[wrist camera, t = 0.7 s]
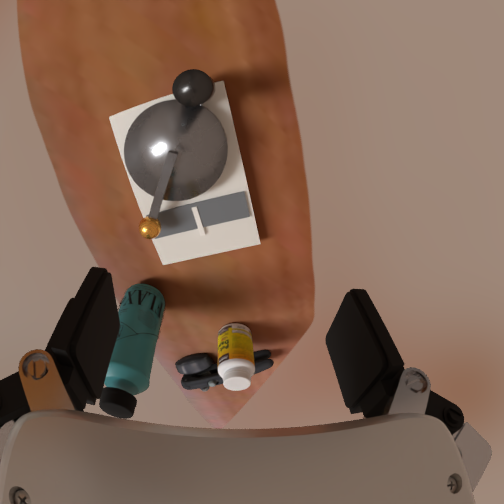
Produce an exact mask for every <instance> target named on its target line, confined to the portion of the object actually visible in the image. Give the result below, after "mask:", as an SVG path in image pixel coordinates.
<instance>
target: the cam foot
mask: <svg viewBox="0 0 504 504" xmlns="http://www.w3.org/2000/svg"><path fill="white" fill-rule="evenodd" d="M172 90H173V95H174V97H175V99H173V100H167V101H162V102H159V103H156V104H154V105H152V106H150V107H149V108H147V109H145V110H144V111H143V112H142V113H141V114H140V115H139V116H138V117H137V118H136V119H135V120H134V122H133V123H132V124H131V126H130V128H129V130H128V133H127V135H126V139H125V143H124V158H125V164H126V167H127V170H128V172H129V174H130V176H131V177H132V179H133V180H134V182H135V183H136V184H137V185H138V186H139V187H140V188H141V189H142V190H144V191H145V192H146V193H148V194H150V195H151V196H153V197H154V198H153V202H152V205H151V209H150V213H149V216H147V217H145V218H143V219H142V220H141V222H140V224H139V232H140V234H141V235H142V236H143V237H144V238H146V239H153V238H156V237H157V236H158V235H159V234H160V231H161V223H160V221H159V220H158V219H157V218H158V215H159V211H160V208H161V205H162V201H163V200H167V201H184V200H188V199H192V198H195V197H197V196H199V195H201V194H203V193H204V192H206V191H207V190H208V189H210V188H211V187H212V186H213V185H214V184H215V183H216V181H217V180H218V179H219V177H220V176H221V174H222V172H223V170H224V167H225V164H226V160H227V153H228V143H227V137H226V133H225V130H224V127H223V125H222V124H221V122H220V120H219V119H218V118H217V116H216V115H215V114H214V113H213V112H212V111H211V110H209V109H208V108H207V107H205V106H203V104H204V103H205V102H207V101H208V100H210V99H211V98H212V96H213V95H214V93H215V83H214V81H213V79H212V78H211V77H209V76H208V75H207V74H206V73H204V72H202V71H200V70H195V69H192V70H187V71H184V72H182V73H181V74H180V75H178V77H177V78H176V79H175V81H174V83H173V89H172Z"/></svg>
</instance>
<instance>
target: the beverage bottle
mask: <svg viewBox="0 0 504 504" xmlns="http://www.w3.org/2000/svg"><path fill="white" fill-rule="evenodd" d="M124 294H125V296H124V298H122V299H123V300H121V301H122V303H120V304H121V306H120V305H119V306H120V309H119V311H118V315H119V320H120V329H119V333H118V336H117V339H116V343H115V346H114V349H113V353H112V356H111V360H110V363H109V367H108V371H107V374H106V378H105V382H104V384H105V385H106V386H107V387H105V388H103V390H102V394H101V397H100V403H99V405H100V408H101V409H102V410H103V411H104V412H106V413H107V414H109V415H112V416H114V417H118V418H131V417H132V416H133V414H134V409H135V407H136V403H137V400H136V398H135V397H134V396H133V395H136V394H139V393H141V392H143V391H145V390H147V388H148V387H149V379H150V373H151V368H152V363H153V357H154V352H155V347H156V342H157V339H158V335H159V330H160V327H161V326H162V325H161V324H162V323H161V321H162V322H163V320H162V318H163V312H164V308H165V305H166V304H165V300H164V297H163V295H162V294H161V292H160V291H159V290H158V289H156V288H155V287H153V286H151V285H148V284H135V285H133V286H131V287H130V288H129V289H128V290H127V291H126V292H125V293H124ZM160 331H161V330H160Z"/></svg>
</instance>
